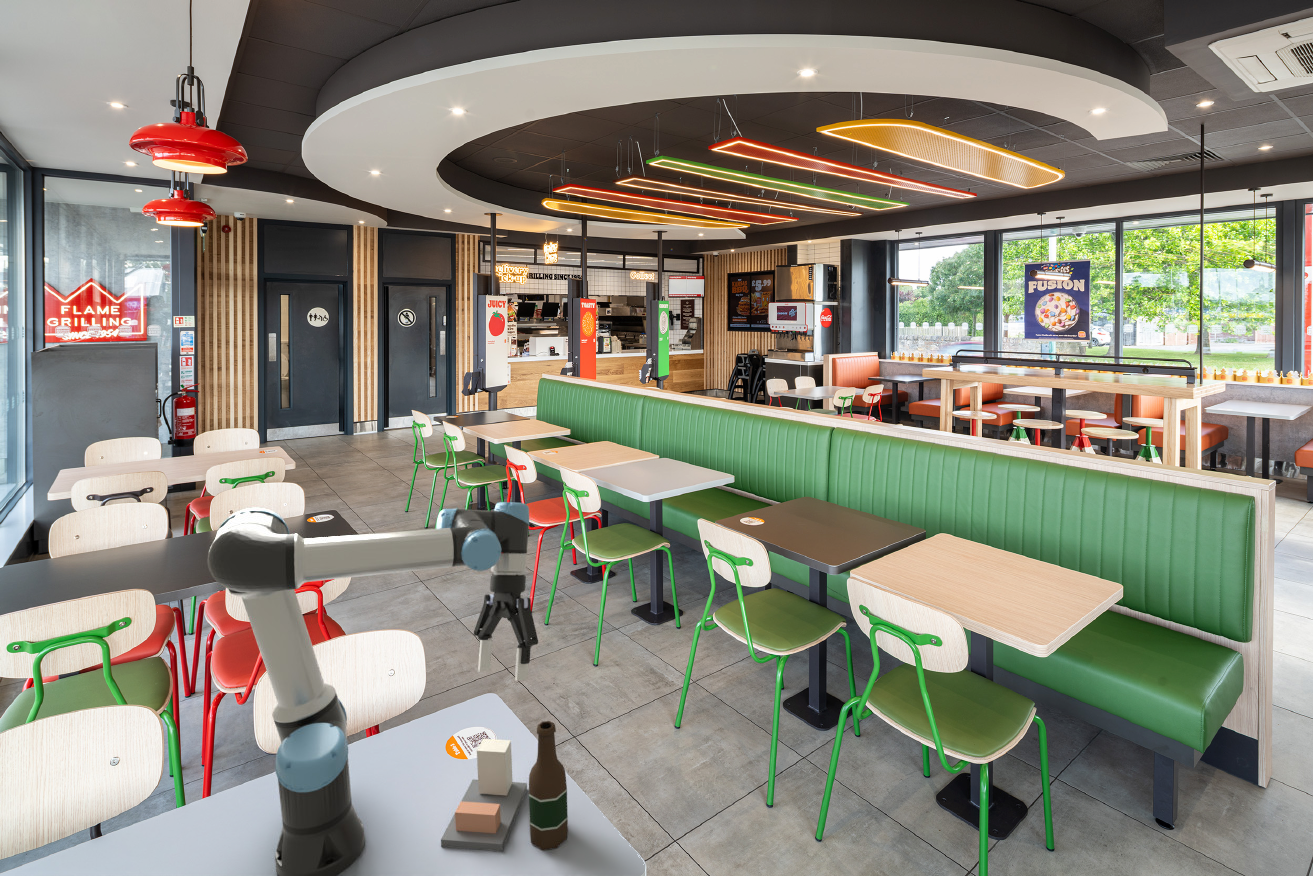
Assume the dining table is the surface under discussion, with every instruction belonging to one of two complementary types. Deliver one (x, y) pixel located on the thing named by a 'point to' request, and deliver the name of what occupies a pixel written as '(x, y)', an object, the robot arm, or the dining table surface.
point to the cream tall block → (494, 766)
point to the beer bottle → (547, 793)
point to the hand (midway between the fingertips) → (502, 675)
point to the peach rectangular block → (477, 817)
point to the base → (508, 815)
